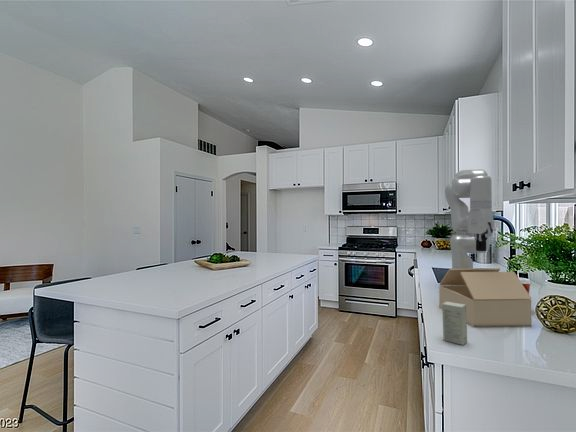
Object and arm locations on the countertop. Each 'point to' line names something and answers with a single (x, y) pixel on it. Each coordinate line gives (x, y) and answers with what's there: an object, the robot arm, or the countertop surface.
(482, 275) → the outer flap
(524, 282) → the paper cup
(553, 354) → the countertop surface
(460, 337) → the skincare box
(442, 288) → the carton
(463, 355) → the countertop surface
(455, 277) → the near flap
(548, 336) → the countertop surface
